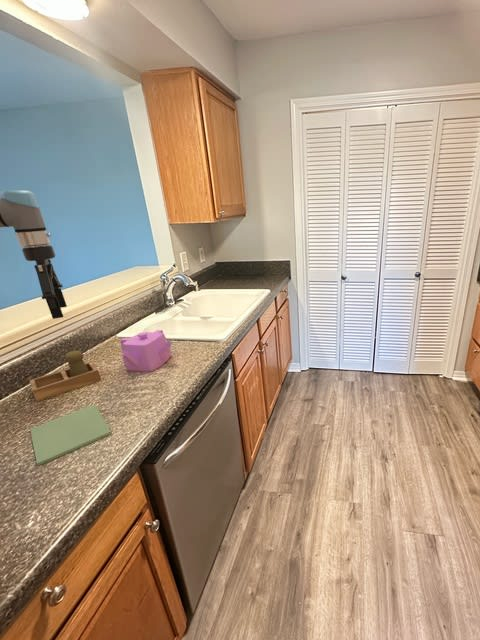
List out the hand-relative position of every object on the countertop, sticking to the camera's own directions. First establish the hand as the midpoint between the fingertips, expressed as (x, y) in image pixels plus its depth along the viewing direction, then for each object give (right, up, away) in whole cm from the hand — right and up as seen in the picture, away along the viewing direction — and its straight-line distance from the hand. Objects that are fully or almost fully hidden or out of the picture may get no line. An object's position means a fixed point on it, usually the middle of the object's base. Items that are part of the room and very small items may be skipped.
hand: (60, 312), depth 106 cm
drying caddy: (-1, -25, +5) cm, 25 cm away
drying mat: (+17, -34, -19) cm, 42 cm away
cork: (+2, -24, +7) cm, 25 cm away
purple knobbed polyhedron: (+22, -19, +17) cm, 33 cm away
